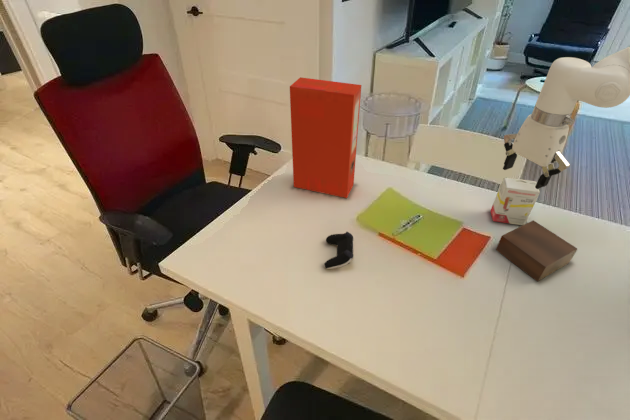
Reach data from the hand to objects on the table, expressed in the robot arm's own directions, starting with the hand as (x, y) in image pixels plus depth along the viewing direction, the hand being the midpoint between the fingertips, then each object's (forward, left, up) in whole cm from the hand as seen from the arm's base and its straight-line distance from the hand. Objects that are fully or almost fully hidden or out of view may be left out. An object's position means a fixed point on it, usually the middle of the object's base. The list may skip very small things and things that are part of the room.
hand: (523, 177), depth 96 cm
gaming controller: (+49, -11, -14) cm, 52 cm away
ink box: (0, 0, -14) cm, 14 cm away
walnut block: (+7, +13, -14) cm, 20 cm away
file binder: (+37, -39, -14) cm, 55 cm away
